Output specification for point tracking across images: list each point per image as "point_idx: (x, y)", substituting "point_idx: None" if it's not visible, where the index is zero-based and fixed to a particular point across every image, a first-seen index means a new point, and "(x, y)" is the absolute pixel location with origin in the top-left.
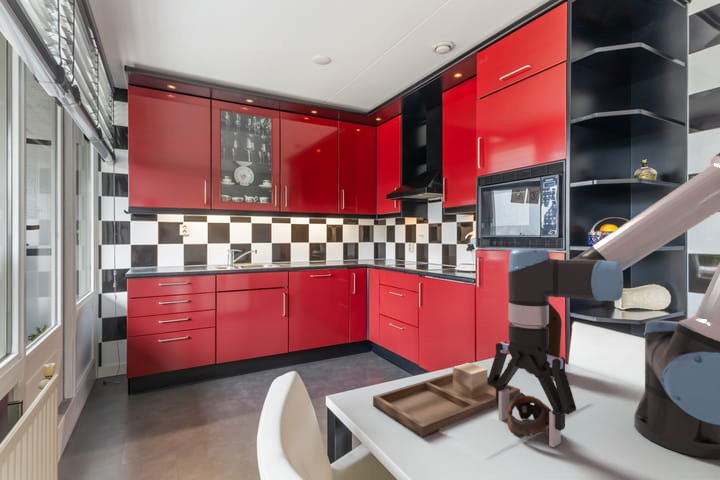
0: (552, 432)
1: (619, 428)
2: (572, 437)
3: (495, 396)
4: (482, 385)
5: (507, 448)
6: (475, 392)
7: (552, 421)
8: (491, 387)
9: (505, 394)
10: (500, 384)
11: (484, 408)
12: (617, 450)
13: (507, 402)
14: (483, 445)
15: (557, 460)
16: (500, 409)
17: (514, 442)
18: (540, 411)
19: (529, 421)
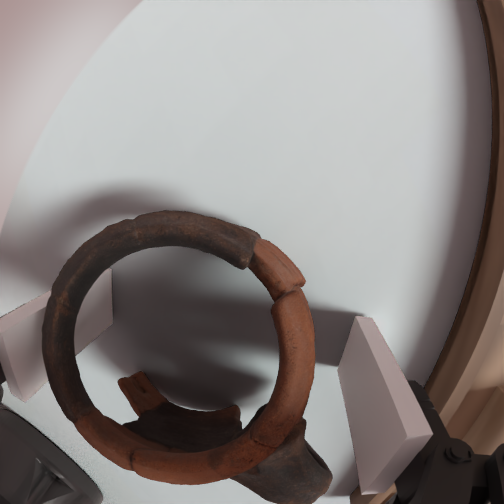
0: None
1: (95, 464)
2: (110, 383)
3: None
4: None
5: (224, 105)
6: (494, 415)
7: (25, 307)
8: None
9: (377, 448)
10: (438, 488)
11: (452, 354)
12: None
13: (357, 420)
14: (318, 49)
15: (65, 193)
16: (379, 352)
17: (225, 182)
18: (192, 442)
19: (108, 246)
